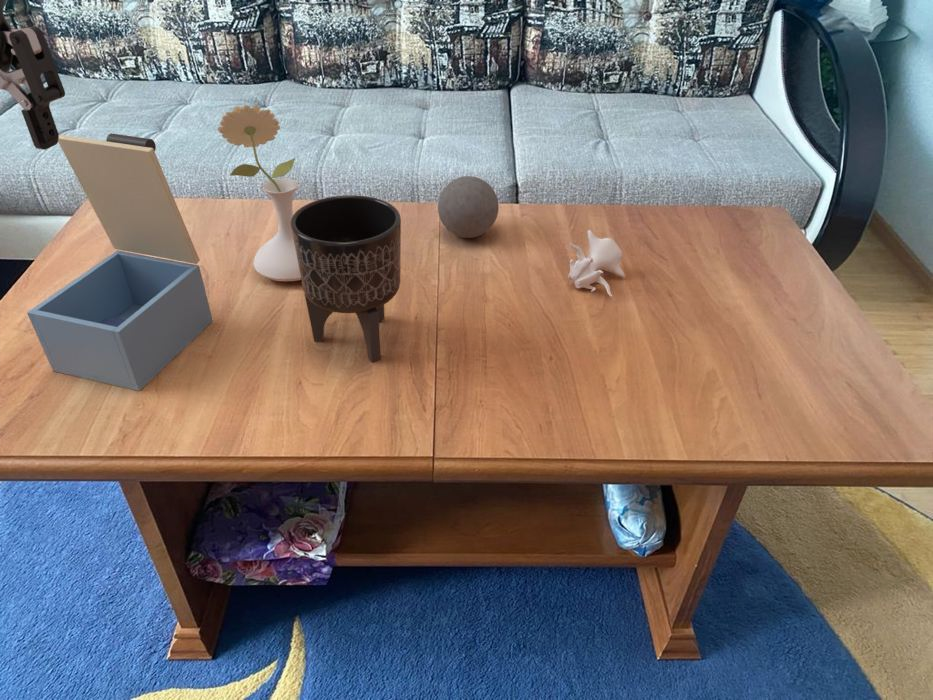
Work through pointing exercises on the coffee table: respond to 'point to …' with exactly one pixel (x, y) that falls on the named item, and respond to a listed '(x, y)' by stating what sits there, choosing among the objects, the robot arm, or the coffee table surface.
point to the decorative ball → (468, 207)
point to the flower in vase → (266, 188)
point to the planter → (348, 261)
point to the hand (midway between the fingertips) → (11, 140)
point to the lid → (130, 195)
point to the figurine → (595, 263)
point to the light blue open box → (126, 297)
